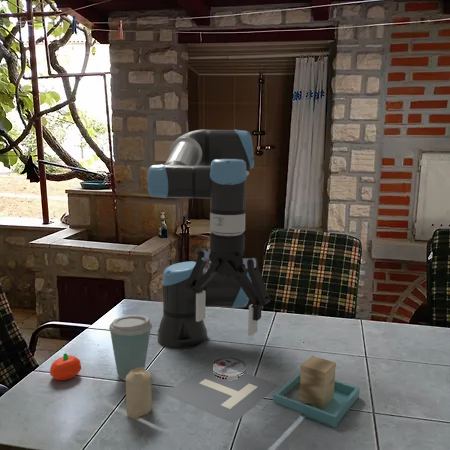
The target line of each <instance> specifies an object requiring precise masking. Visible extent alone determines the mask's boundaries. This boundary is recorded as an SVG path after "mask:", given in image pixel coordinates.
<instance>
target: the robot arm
mask: <svg viewBox="0 0 450 450" xmlns="http://www.w3.org/2000/svg"><path fill="white" fill-rule="evenodd" d="M254 158H255V157H254V146H253V139H252V135H251V133H250V132H249V131H248V130H242V129H241V130H240V129H205V128H204V129H196V130H192V131H189V132H186V133H184V134H183V135H180V136H179V137H177V138H176V139H175V140H174V141H173V143H172V144H171V146H170V148H169V156H168V157H167V159H166V162H165V163H164V164H161V163H160V164H153V165H150V167H148V170H147V181H146V183H147V190H148V191H147V192H148V194H149V195H150V196H151V197H153V198H161V199H210V203H209V204H210V205H209V206H210V209H209V220H210V221H209V230H210V231H211V233H210V234H209V250H210V251H209V250H208V249H206V248H205V249H202V250H200V251H198V252H197V256H196V257H197V258H196V259H197V260H196V261H194V260H193V261H183V262H178V263H173V264H171V265H169V266H167V267H165V268H164V271H163V276H162V277H163V278H162V283H161V285H162V296H163V297H162V309H163V311H162V312H163V313H162V317H161V321H160V324H159V327H158V330H157V342H158V343H159V344H160V345H162V346H165V347H168V348H170V349H171V348H172V349H191V348H196V347H198V346H200V345H201V344H204V343H205V342H207V340H208V330H207V328H206V324H205V321H204V320H205V319H206V308H231V309H234V308H245V307H246V306H247V305H248V304H249V301H250V303H251V304H249V305H248V326H247V327H248V328H247V335H248V336H250V337H252V336H253V335H254V334H256V333H258V324H259V323H258V321H259V320H261V318H262V306H265V305H267V304H269V303H270V302H271V297H270V294H269V292H268V289H267V287H266V284H265V282H264V279H263V277H262V274H261V271H260V270H259V263H258V260H259V259H258V258H257V257H256V256H254V257H252V258H246V257H245V255H244V254H245V253H244V252H245V248H246V247H245V246H246V245H245V244H246V235H245V234H244V232H245V231H246V200H247V199H246V198H247V197H246V196H247V195H246V194H247V178H248V176H249V175H250V170H252V169H254V168H255V159H254ZM208 261H209V267H206V265H207V262H208Z"/></svg>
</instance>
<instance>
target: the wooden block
mask: <svg viewBox="0 0 450 450" xmlns="http://www.w3.org/2000/svg"><path fill="white" fill-rule="evenodd" d="M336 365H337V364H336V362H334V361H332V360H328V359H324V358H323V357H322V358H321V357H318V356H314V355H311V356H310V357H309V358H307V359H306V360H305V361H304V362H302V363H301V365H300V371H301V373H300V382H299V395H298V399H299V401H302V402H304V403H308V404H310V405H311V406H314V407H317V408H320V409H322V410H324V408H325V407H326V406H327V405H328V404H329V403H330V402H331V401H332V400H333V398H334V384H335V380H336V367H337V366H336Z"/></svg>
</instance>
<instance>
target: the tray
mask: <svg viewBox="0 0 450 450" xmlns="http://www.w3.org/2000/svg"><path fill="white" fill-rule="evenodd" d="M300 373H301V370H299V372H298V373H296V374H295V376H293V377H291V379H290V380H288V381H287V382H286V383H285V384H284V385H283V386H282V387H280V388H279V389H278V390H277V391H276V392H275V393H274V394H273V395H272V397H273V398H272V402H273V403H277V404H278V405H281V406H284V407H287V408H289V409H292V410H294V411H298V412H300V413H301V414H300V416H301V417H305V418H307V419H309V420H312V421H315V422H318V423H320V424H323V425H326V426H328V427H331V428H334V429H335V428H336V427H337V426H338V425H339V423H340V422H341V421H342V420H343V419H344V417H345V416H346V414H348V412H349V411H350V409H352V407H353V406H354V405H355V403H356V402H358V400H359V398H360V389H361V388H360V387H358V386H355V385H352V384H348V383H346V382H342V381H339V380H336V379H335V384H334V398H333V400H332V401H331V402H330V403H329V404H328V405H327V406H326V407H325V408H324V410H322V409H320V408H317V407H314V406H311V404H310V405H308V404H306V403H303V402H300V401H297V400H295V399H291V398H289V397H287V396H285V395H286V394H288V393H289V392H290V391H291V390H292V389H293V388H294V387H295V386H297V384H300Z"/></svg>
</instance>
